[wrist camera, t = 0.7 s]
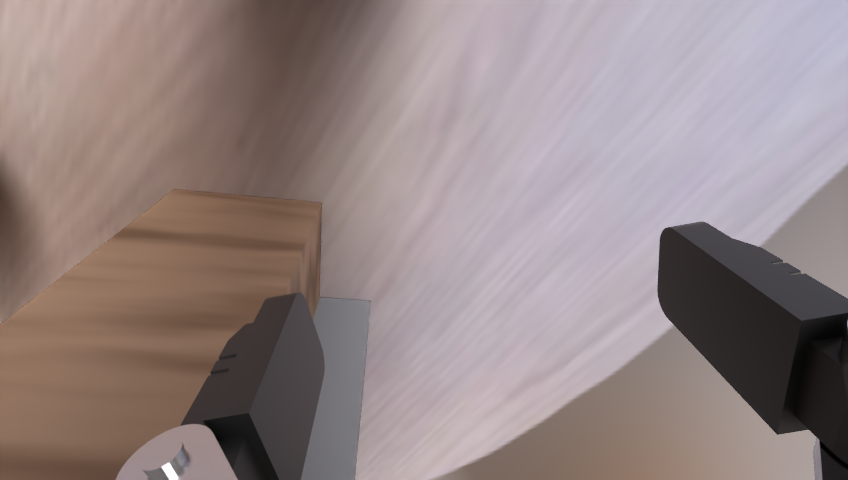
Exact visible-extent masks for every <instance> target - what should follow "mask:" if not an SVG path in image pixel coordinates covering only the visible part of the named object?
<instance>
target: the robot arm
mask: <svg viewBox="0 0 848 480" xmlns="http://www.w3.org/2000/svg"><path fill="white" fill-rule="evenodd" d="M658 298H659V302H660V305H661V308H662V310H663V312H664V314H665V315H666V317H667V318H668V319H669V320H670V321H671V322H672V323H673V324H674V325H675V326H676V327H677V329H678V330H679V331H681V333H682V334H683V335H684V336H685V337H686V338H687V339H688V340H689V341H690V342H691V343H692V344H693V345H694V347H695V348H696V349H697V350H698V351H699V352H700V353H701V354H702V355H703V356H704V357H705V358H706V359H707V360H708V361H709V363H711V365H712V366H713V367H714V368H715V369H716V370H717V371H718V372H719V373H720V374H721V375H722V376H723V377H724V378H725V380H726V381H727V382H728V383H729V384H730V385H731V386H732V387H733V388H734V389H735V390H736V391H737V392H738V393H739V394H740V395H741V396H742V398H743V399H744V400H745V401H746V402H747V403H748V404H749V405H750V406H751V407H752V408H753V409H754V410H755V411H756V412H757V413H758V415H759V416H760V417H761V418H762V419H763V420H764V421H765V422H766V423H767V424H768V425H769V426H770V427H771V428H772V429H773V430H774V432H775V433H776V434H784V433H790V432H796V431H802V430H810V431H811V432H812V433H813V434H814V435H815V436H816V437H817V438H816V442H815V446H814V450H813V459H814V473H815V480H848V299H847V298H846V297H844V296H842V295H840V294H839V293H837V292H835V291H834V290H832V289H830V288H828V287H827V286H825V285H823V284H822V283H820V282H818V281H817V280H815V279H813V278H812V277H810V276H808V275H807V274H801V272H800V270H798V269H796V268H795V267H793V266H791V265H789V264H788V263H783V260H781V259H780V258H778V257H776V256H774V255H773V254H771V253H769V252H768V251H766V250H764V249H763V248H761V247H757V246H754V245H751V244H748V243H745V242H742V241H739V240H735V239H732V238H730V237H729V236H727V235H725V234H724V233H722V232H721V231H719V230H717V229H716V228H714V227H712V226H711V225H709V224H708V223H705V222H696V223H691V224H685V225H680V226H674V227H668V228H665V229H664V230H663V232H662V234H661V237H660V250H659V271H658ZM324 372H325V362H324V354H323V349H322V346H321V343H320V340H319V337H318V334H317V331H316V328H315V325H314V322H313V319H312V316H311V313H310V310H309V307H308V304H307V301H306V299H305V297H304V295H303V294H302V293H300V292H298V293H292V294H287V295H281V296H275V297H270V298H266V299H265V301H264V302H263V304H262V306H261V308H260V310H259V312H258V314H257V316H256V318H255V320H254V322H253V323H248V324H245V325H244V326H243V327H242V328H241V329H240V330H239V331H238V332H237V333H235V334H234V335H233V336H232V337H231V338H230V339H229V340H228V341H227V343H226V345H225V347H224V349H223V350H222V352H221V354H220V356H219V361H216V363H215V365H214V366H213V368H212V370H211V372H210V373H211V375H210V376H208V377H207V379H206V380H205V382H204V384H203V386H202V388H201V389H200V391H199V393H198V395H197V396H196V398H195V400H194V402H193V403H192V405H191V407H190V409H189V411H188V412H187V414H186V416H185V418H184V419H183V421H182V423H181V425H180V426H179V427H176V428H173V429H170V430H168V431H166V432H164V433H162V434H160V435H158V436H156V437H155V438H153V439H151V440H150V441H148V442H147V443H146V444H144V445H143V446H142V447H141V448H140V449H138V450H137V451H136V452H135V453H134V454H133V455H132V456H131V457H130V458H129V459H128V460H127V462H126V463H125V464H124V466H123V467H122V468H121V470H120V472H119V473H118V476H117V478H116V480H301V476H302V472H303V467H304V463H305V459H306V454H307V450H308V445H309V441H310V436H311V432H312V427H313V423H314V418H315V414H316V410H317V405H318V401H319V396H320V392H321V387H322V383H323V378H324Z"/></svg>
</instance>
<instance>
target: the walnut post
mask: <svg viewBox="0 0 848 480" xmlns="http://www.w3.org/2000/svg"><path fill="white" fill-rule="evenodd" d="M321 213H322V203H319V202H308V201H297V200H286V199H275V198H264V197H254V196H243V195H232V194H221V193H210V192H199V191H188V190H177V189H174V190H173V191H171V192H170V193H169V194H167V195H166V196H165V197H164V198H162V199H161V200H160V201H158V202H157V203H156V204H155V205H153V206H152V207H151V208H149V209H148V210H147V211H146V212H144V213H143V214H142V215H140V216H139V217H138V218H137V219H135V220H134V221H133V222H131V223H130V224H129V225H128V226H126V227H125V228H124V229H122V230H121V231H120V232H119V233H117V234H116V235H115V236H113V237H112V238H111V239H110V240H108V241H107V242H106V243H104V244H103V245H102V246H101V247H99V248H98V249H97V250H95V251H94V252H93V253H91V254H90V255H89V256H88V257H86V258H85V259H84V260H82V261H81V262H80V263H79V264H77V265H76V266H75V267H73V268H72V269H71V270H70V271H68V272H67V273H66V274H64V275H63V276H62V277H61V278H59V279H58V280H57V281H55V282H54V283H53V284H52V285H50V286H49V287H48V288H46V289H45V290H44V291H43V292H41V293H40V294H39V295H37V296H36V297H35V298H34V299H32V300H31V301H30V302H28V303H27V304H26V305H25V306H23V307H22V308H21V309H19V310H18V311H17V312H16V313H14V314H13V315H12V316H10V317H9V318H8V319H7V320H5V321H4V322H3V323H1V324H0V480H116V478H117V476H118V473H119V472H120V470H121V468H122V467H123V466H124V464H125V463H126V462H127V460H128V459H129V458H130V457H131V456H132V455H133V454H134V453H135V452H136V451H137V450H138V449H140V448H141V447H142V446H143V445H144V444H146V443H147V442H148V441H150V440H151V439H153V438H155V437H156V436H158V435H160V434H162V433H164V432H166V431H168V430H170V429H173V428H176V427H179V426H180V425H181V423H182V421H183V419H184V418H185V416H186V414H187V412H188V411H189V409H190V407H191V405H192V403H193V402H194V400H195V398H196V396H197V395H198V393H199V391H200V389H201V388H202V386H203V384H204V382H205V380H206V379H207V377H208V376H210V375H211V373H210V372H211V370H212V368H213V366H214V365H215V363H216V361H219V356H220V354H221V352H222V350H223V349H224V347H225V345H226V343H227V341H228V340H229V339H230V338H231V337H232V336H233V335H234V334H235V333H237V332H238V331H239V330H240V329H241V328H242V327H243V326H244V325H245V324H248V323H253V322H254V320H255V318H256V316H257V314H258V312H259V310H260V308H261V306H262V304H263V302H264V301H265V299H266V298H270V297H275V296H281V295H287V294H292V293H298V292H300V293H302V294H303V295H304V297H305V299H306V301H307V304H308V307H309V310H310V313H311V316H312V319H314V315H315V312H316V308H317V305H318V301H319V297H320V256H321Z"/></svg>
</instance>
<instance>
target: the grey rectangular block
mask: <svg viewBox="0 0 848 480" xmlns="http://www.w3.org/2000/svg"><path fill="white" fill-rule="evenodd" d="M370 302H371V301H367V300H353V299H339V298H325V297H319V301H318V305H317V308H316V312H315V315H314V319H313V322H314V325H315V328H316V331H317V334H318V337H319V340H320V343H321V346H322V349H323V354H324V362H325V372H324V378H323V383H322V387H321V392H320V396H319V401H318V405H317V410H316V414H315V418H314V423H313V427H312V432H311V436H310V441H309V445H308V450H307V454H306V459H305V463H304V467H303V472H302V476H301V480H355V472H356V461H357V450H358V440H359V429H360V418H361V407H362V396H363V386H364V374H365V362H366V350H367V338H368V326H369V314H370Z"/></svg>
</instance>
